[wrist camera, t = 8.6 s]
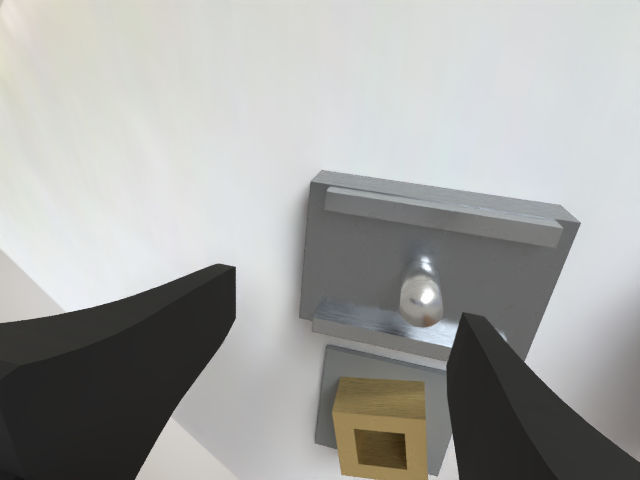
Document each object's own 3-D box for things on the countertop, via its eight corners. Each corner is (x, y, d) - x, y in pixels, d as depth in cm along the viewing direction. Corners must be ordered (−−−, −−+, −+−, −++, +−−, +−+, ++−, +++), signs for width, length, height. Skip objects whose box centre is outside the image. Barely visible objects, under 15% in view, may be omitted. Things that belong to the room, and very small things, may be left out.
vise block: (560, 205, 18) (614, 251, 13) (511, 336, 22) (539, 412, 17) (321, 170, 20) (292, 199, 15) (310, 295, 24) (282, 351, 19)
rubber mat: (469, 376, 23) (469, 381, 23) (437, 471, 27) (437, 476, 27) (327, 344, 25) (326, 348, 25) (316, 438, 29) (314, 443, 28)
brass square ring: (424, 381, 24) (425, 419, 21) (426, 443, 26) (428, 486, 23) (340, 376, 25) (331, 412, 22) (348, 435, 27) (341, 475, 24)
